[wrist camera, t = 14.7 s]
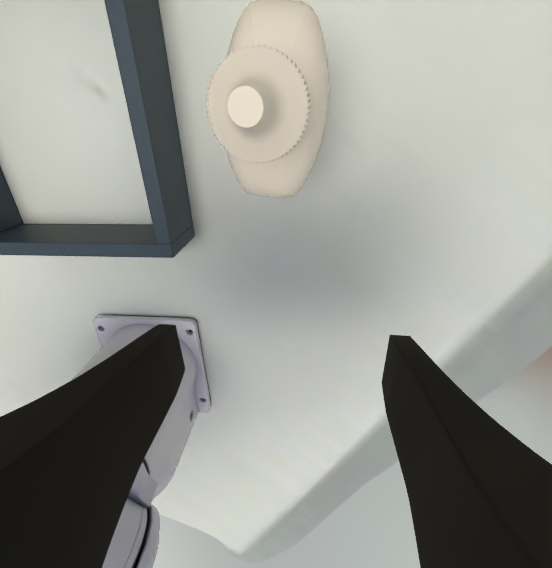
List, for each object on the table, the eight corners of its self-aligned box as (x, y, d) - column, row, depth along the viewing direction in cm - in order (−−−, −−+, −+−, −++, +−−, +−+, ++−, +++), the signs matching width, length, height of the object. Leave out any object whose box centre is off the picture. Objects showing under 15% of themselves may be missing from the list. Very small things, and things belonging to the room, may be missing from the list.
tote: (194, 236, 20) (173, 258, 17) (17, 235, 22) (-32, 254, 19) (144, -88, 14) (94, -147, 11) (-109, -61, 15) (-218, -106, 12)
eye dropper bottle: (227, 136, 17) (95, 168, 7) (284, 26, 15) (213, -185, 4) (293, 182, 18) (263, 275, 8) (358, 85, 16) (445, 25, 5)
